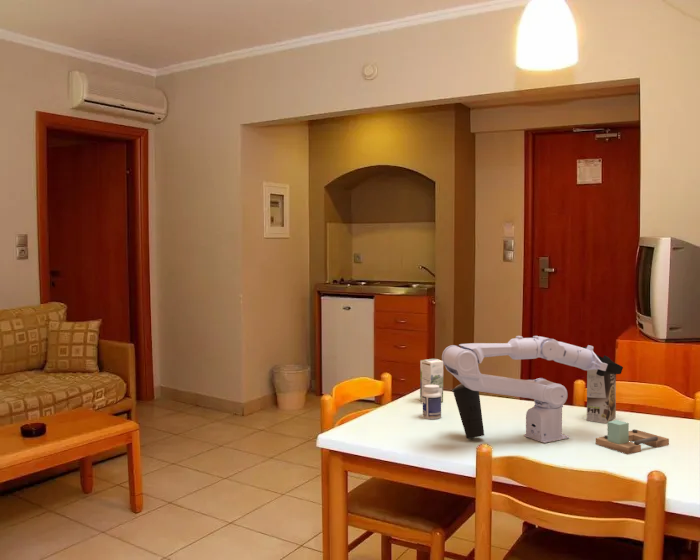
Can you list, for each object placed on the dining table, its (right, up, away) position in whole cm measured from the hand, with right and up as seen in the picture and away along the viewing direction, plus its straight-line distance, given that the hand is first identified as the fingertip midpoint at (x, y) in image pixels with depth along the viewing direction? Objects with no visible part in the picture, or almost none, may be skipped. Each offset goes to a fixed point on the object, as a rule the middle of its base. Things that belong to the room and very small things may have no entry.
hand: (612, 366), depth 183 cm
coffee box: (+2, -18, +14) cm, 23 cm away
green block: (-4, -18, -15) cm, 23 cm away
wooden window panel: (0, -19, -12) cm, 22 cm away
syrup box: (-46, -18, +39) cm, 63 cm away
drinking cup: (-40, -19, -6) cm, 45 cm away
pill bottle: (-49, -19, +19) cm, 55 cm away
